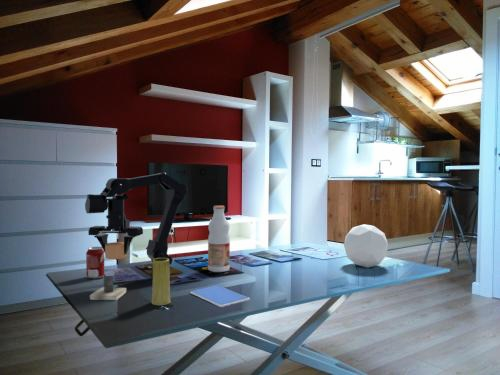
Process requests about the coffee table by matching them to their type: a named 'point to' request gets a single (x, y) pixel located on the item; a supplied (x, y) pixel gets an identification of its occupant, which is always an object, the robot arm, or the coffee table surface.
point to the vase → (161, 282)
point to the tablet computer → (219, 296)
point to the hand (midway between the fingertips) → (116, 253)
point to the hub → (115, 250)
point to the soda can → (95, 262)
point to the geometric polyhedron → (366, 245)
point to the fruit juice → (218, 242)
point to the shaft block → (108, 291)
